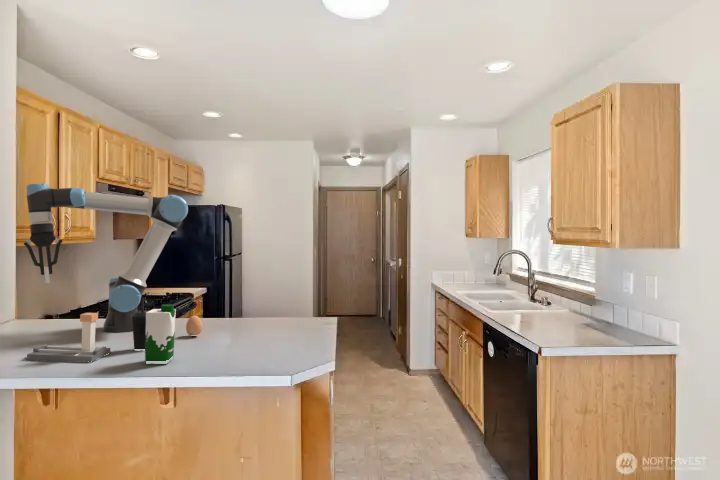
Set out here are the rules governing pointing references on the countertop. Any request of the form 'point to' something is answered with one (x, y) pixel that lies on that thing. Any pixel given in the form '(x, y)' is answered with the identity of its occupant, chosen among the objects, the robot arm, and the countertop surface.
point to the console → (66, 353)
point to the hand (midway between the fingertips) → (47, 282)
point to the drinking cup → (139, 327)
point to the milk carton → (160, 333)
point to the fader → (88, 331)
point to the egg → (194, 325)
